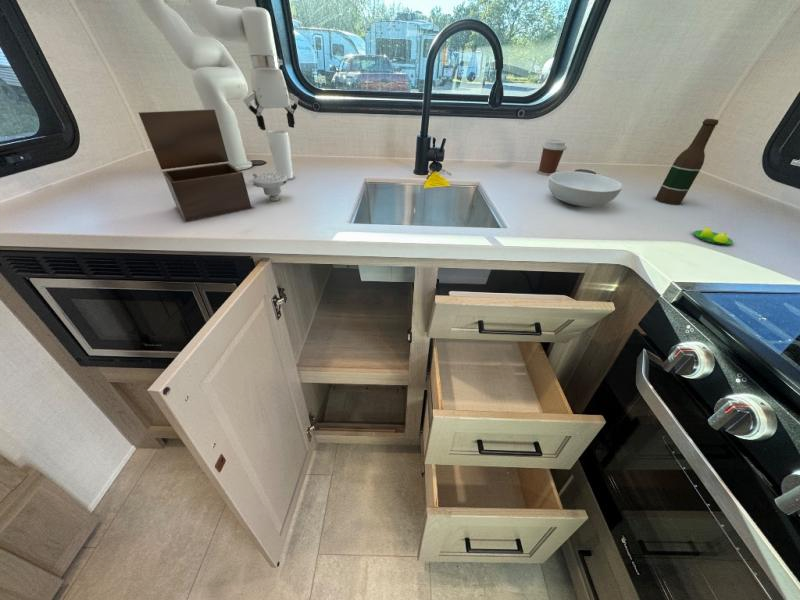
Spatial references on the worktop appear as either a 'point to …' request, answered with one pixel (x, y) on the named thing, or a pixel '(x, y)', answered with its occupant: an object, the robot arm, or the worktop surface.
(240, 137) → the robot arm
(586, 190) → the serving bowl
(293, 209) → the worktop surface
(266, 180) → the showerhead
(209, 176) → the chest
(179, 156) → the lid
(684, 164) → the beer bottle
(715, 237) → the green disc yellow mounds
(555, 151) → the coffee cup
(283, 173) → the drinking glass
